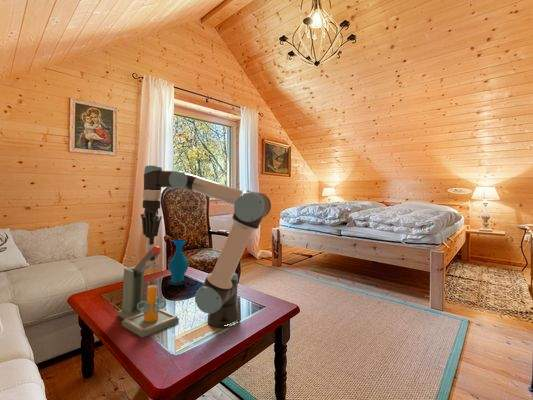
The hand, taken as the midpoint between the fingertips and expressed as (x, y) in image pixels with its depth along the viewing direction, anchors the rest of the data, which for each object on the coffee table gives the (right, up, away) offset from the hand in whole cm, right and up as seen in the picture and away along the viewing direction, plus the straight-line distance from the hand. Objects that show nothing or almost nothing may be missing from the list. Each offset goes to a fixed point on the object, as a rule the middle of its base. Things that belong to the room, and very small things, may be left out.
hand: (149, 251), depth 127 cm
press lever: (0, -9, 0) cm, 8 cm away
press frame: (-3, -32, +2) cm, 32 cm away
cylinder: (+1, -31, -2) cm, 31 cm away
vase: (-5, -31, +56) cm, 65 cm away
